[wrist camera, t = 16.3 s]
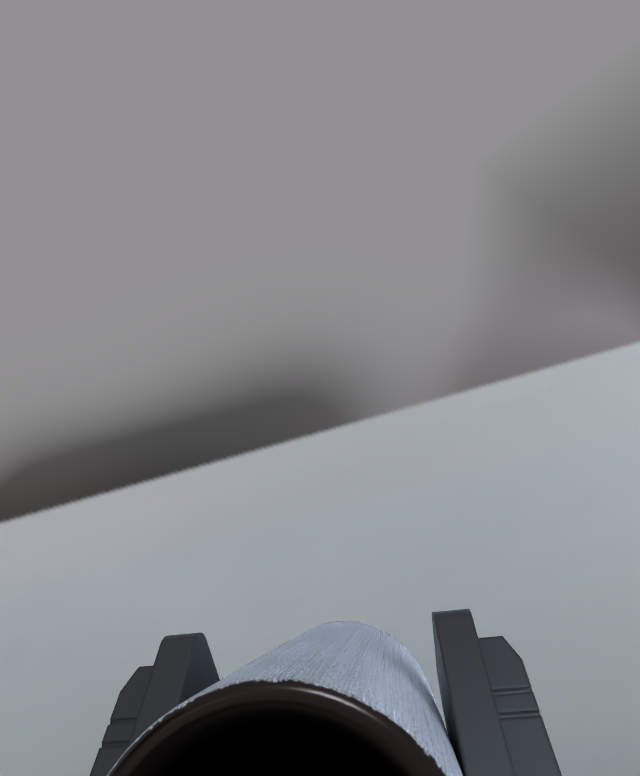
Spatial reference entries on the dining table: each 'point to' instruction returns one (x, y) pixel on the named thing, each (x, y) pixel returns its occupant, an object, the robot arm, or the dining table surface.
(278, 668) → the white and black tumbler
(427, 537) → the dining table surface
